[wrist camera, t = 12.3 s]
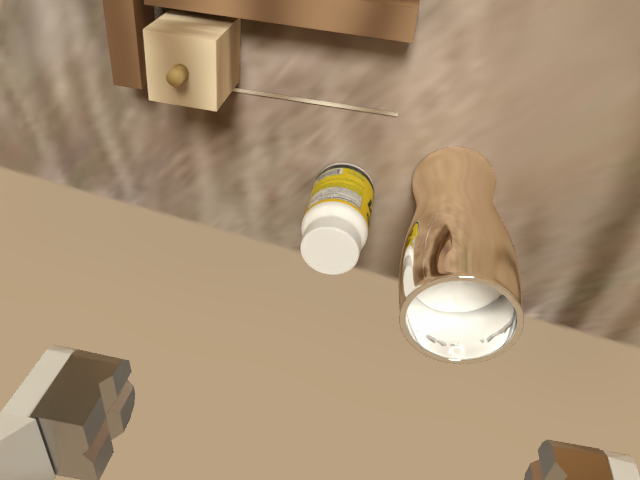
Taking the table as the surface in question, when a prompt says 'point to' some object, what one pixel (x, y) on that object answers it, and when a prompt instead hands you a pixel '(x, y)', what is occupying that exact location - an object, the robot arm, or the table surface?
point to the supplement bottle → (337, 218)
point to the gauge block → (192, 58)
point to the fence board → (260, 5)
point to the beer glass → (458, 263)
